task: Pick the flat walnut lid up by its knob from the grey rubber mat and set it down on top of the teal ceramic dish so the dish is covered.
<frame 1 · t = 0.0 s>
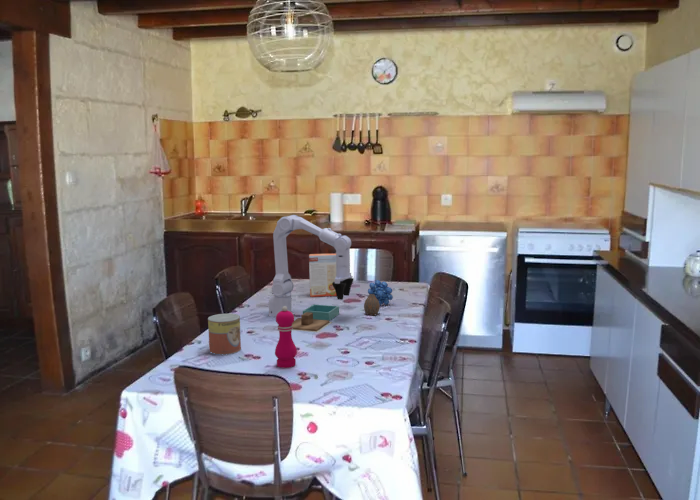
hand: (343, 297, 256), 10 cm above the table, fingers open, 7 cm apart
canned food: (225, 350, 220), on the table
pepper mill: (286, 365, 203), on the table
brown egg-shaped piece: (371, 314, 268), on the table
mat: (307, 326, 249), on the table
dish: (321, 317, 263), on the table
lid: (307, 325, 249), resting on mat
cracker box: (323, 295, 305), on the table
grapes: (380, 306, 283), on the table
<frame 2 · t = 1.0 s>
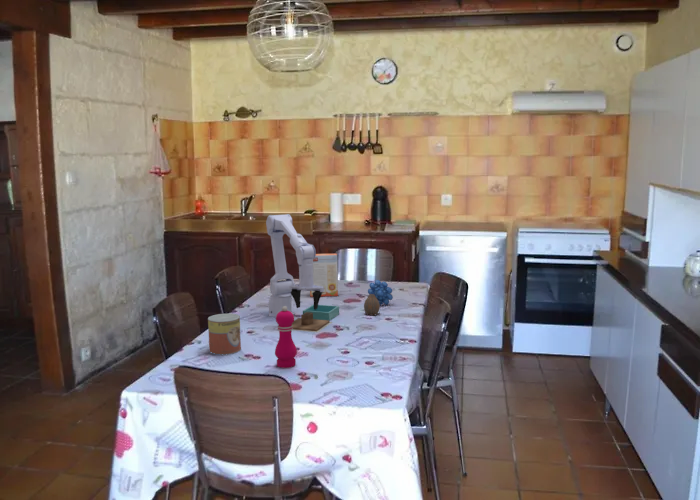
hand: (307, 308, 248), 8 cm above the table, fingers open, 7 cm apart
nothing on the table moved.
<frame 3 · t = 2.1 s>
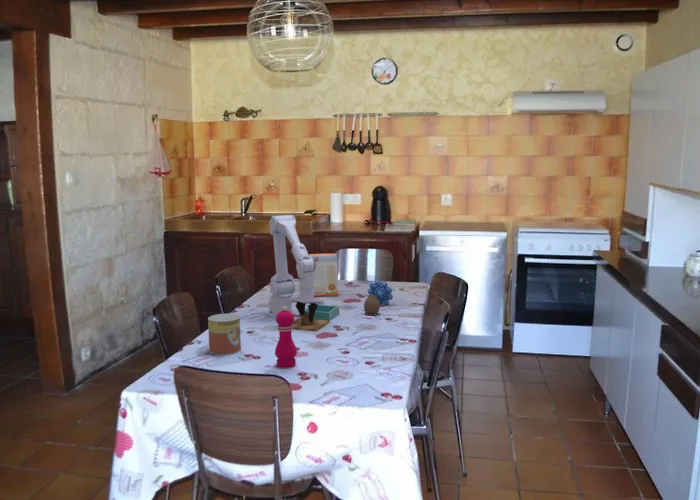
hand: (307, 320, 249), 2 cm above the table, fingers closed on lid, 3 cm apart
lid: (307, 325, 249), resting on mat, touching gripper
everything else where it was.
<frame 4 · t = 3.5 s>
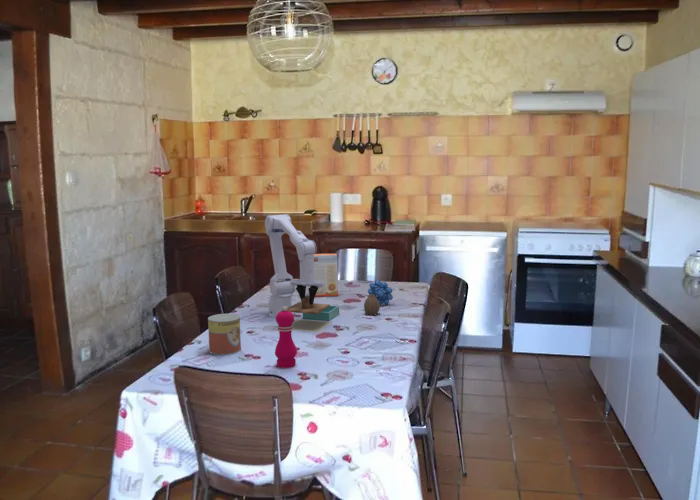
hand: (307, 303, 248), 9 cm above the table, fingers closed on lid, 3 cm apart
lid: (307, 309, 249), point 7 cm above the table, touching gripper
everything else where it was.
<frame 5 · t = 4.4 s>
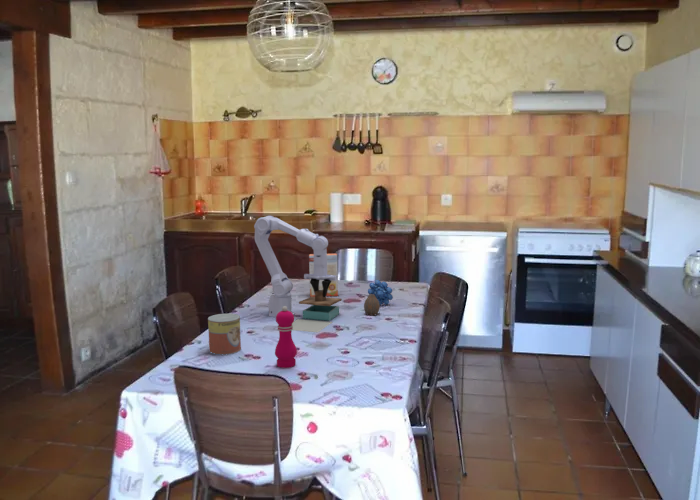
hand: (320, 296, 262), 9 cm above the table, fingers closed on lid, 3 cm apart
lid: (320, 302, 261), point 7 cm above the table, touching gripper
everything else where it was.
when the fingers open (7 cm above the table, at t = 5.0 s): lid stays where it is, resting on dish.
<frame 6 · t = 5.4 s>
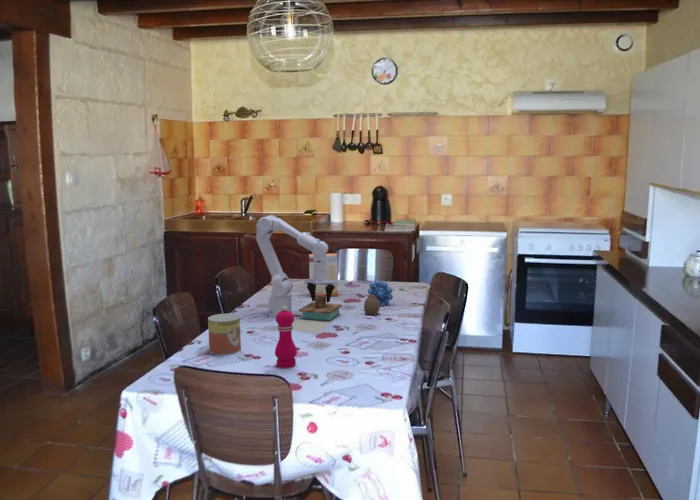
hand: (321, 301, 262), 7 cm above the table, fingers open, 6 cm apart
lid: (320, 308, 262), point 4 cm above the table, touching dish
everything else where it was.
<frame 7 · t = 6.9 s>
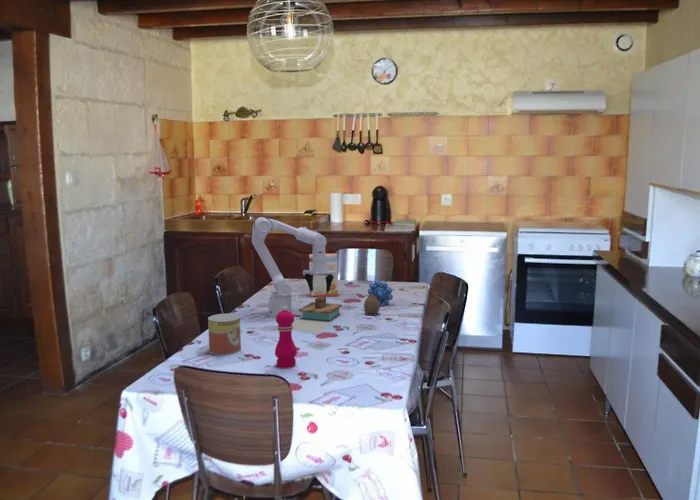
hand: (319, 291, 269), 10 cm above the table, fingers open, 7 cm apart
nothing on the table moved.
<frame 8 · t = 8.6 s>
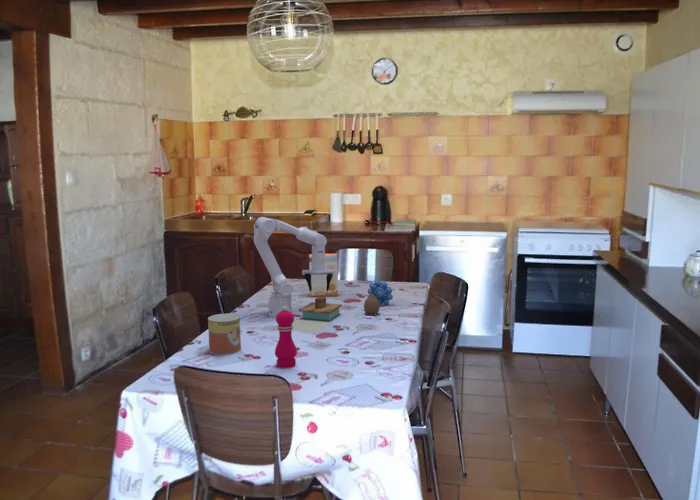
hand: (319, 290, 273), 9 cm above the table, fingers open, 7 cm apart
nothing on the table moved.
at the end: lid 0.6 cm off-centre on the dish, point 4.0 cm above the dish's base; lid tilted 0°; the gripper is holding nothing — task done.
